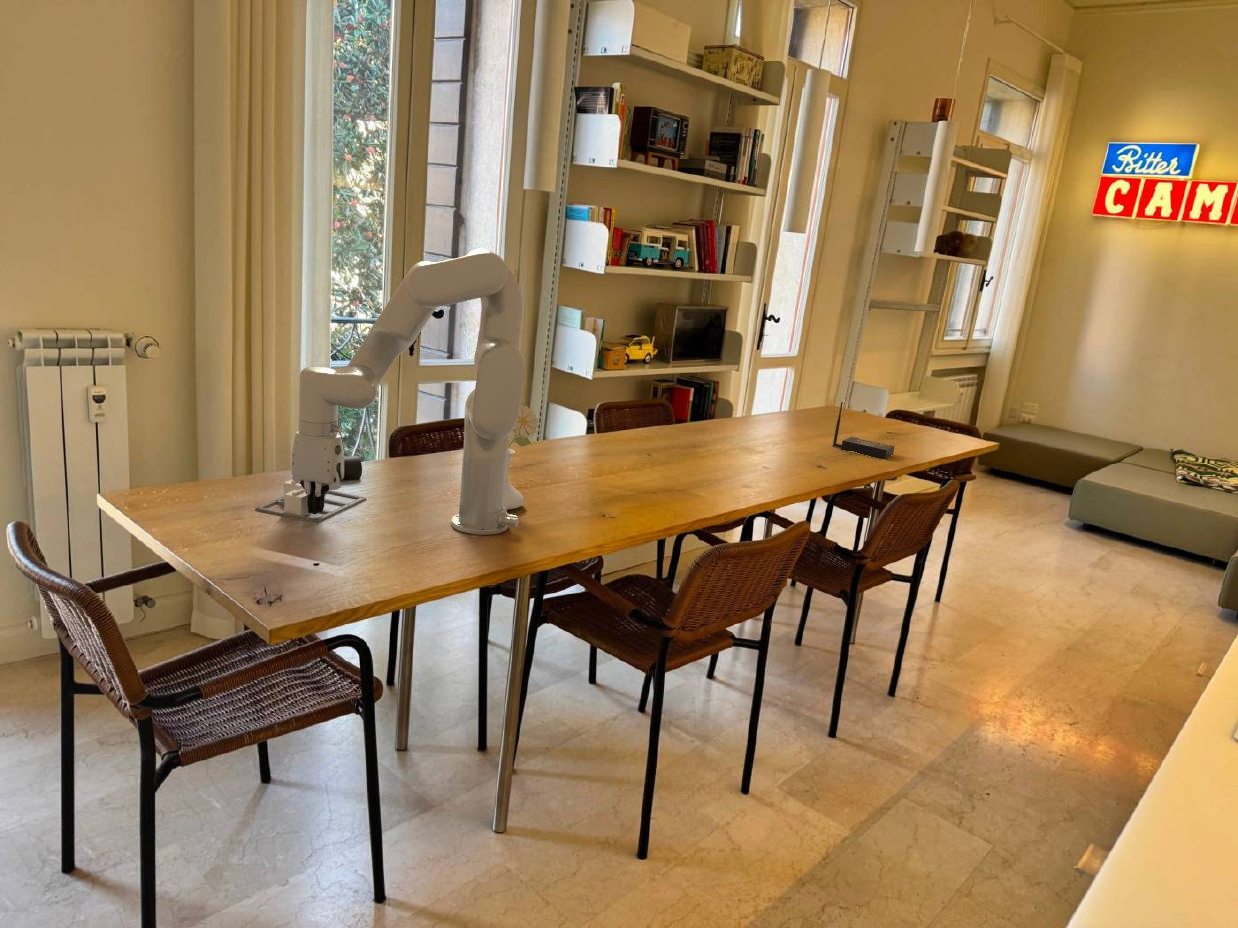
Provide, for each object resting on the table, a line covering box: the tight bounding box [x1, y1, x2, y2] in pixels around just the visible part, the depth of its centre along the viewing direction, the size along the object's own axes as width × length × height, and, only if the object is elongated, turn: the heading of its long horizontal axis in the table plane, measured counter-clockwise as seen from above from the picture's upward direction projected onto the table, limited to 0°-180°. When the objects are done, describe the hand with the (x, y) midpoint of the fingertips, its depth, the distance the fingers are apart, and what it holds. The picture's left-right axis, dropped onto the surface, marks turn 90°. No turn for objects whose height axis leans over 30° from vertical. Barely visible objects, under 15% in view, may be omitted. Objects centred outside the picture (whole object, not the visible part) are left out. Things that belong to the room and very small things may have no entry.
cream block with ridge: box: [283, 479, 304, 496], centre depth 192 cm, size 4×4×5 cm
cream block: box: [283, 489, 311, 517], centre depth 185 cm, size 4×4×5 cm
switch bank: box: [254, 490, 367, 524], centre depth 192 cm, size 20×19×2 cm
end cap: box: [340, 453, 363, 482], centre depth 211 cm, size 10×7×7 cm
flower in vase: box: [503, 404, 539, 511], centre depth 206 cm, size 13×11×25 cm
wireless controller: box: [832, 401, 896, 460], centre depth 313 cm, size 20×14×17 cm
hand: (315, 511), depth 184 cm, fingers closed
